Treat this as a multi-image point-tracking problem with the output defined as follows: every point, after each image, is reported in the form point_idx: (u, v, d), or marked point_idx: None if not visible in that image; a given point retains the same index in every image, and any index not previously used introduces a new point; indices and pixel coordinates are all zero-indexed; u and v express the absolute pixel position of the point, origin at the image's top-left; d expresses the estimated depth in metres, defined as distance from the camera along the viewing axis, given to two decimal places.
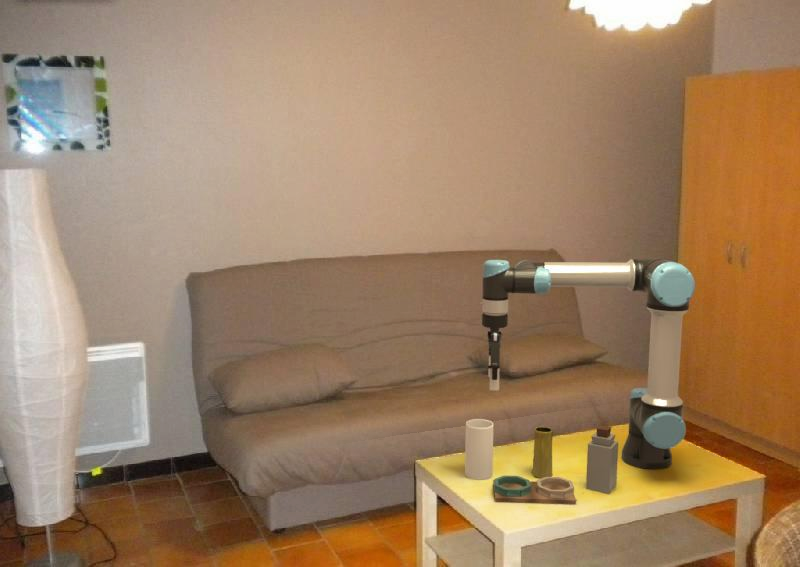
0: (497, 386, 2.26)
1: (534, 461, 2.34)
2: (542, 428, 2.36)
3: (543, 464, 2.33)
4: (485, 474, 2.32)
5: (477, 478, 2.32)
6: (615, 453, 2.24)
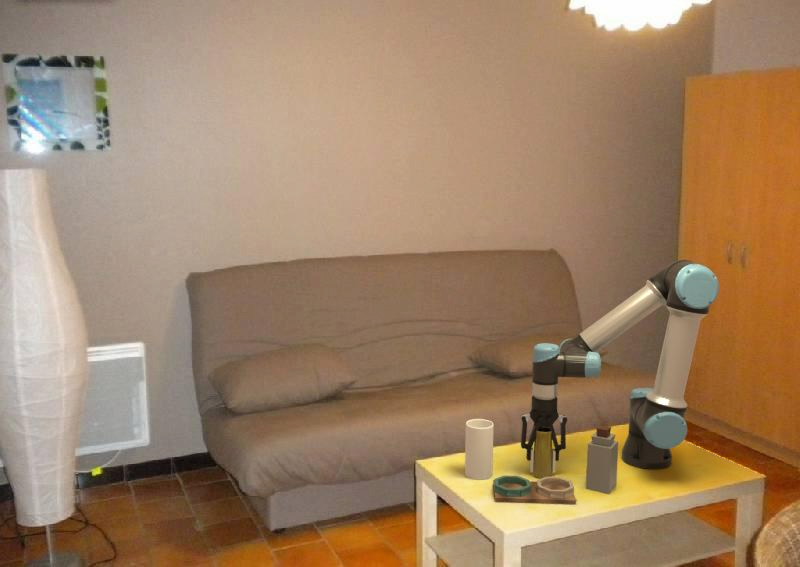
0: (530, 467, 2.35)
1: (534, 461, 2.34)
2: (542, 428, 2.36)
3: (543, 464, 2.33)
4: (485, 474, 2.32)
5: (477, 478, 2.32)
6: (615, 453, 2.24)
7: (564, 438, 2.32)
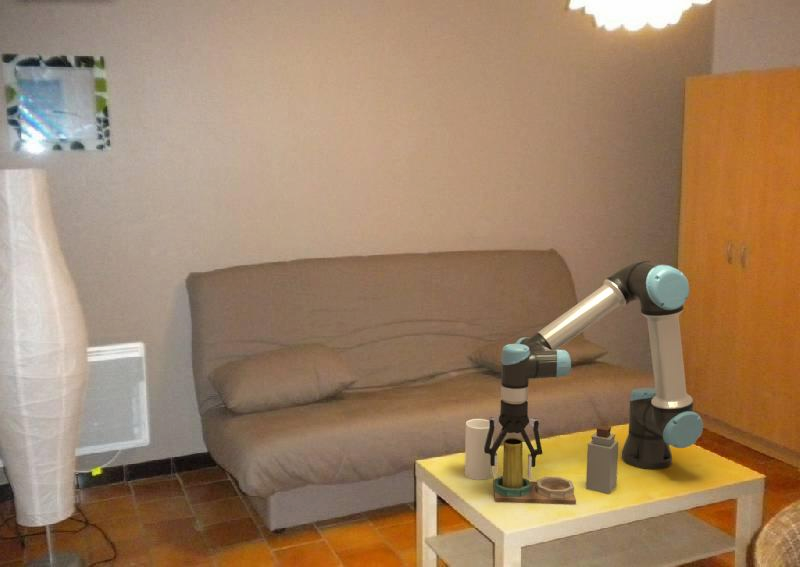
0: (494, 473, 2.21)
1: (504, 475, 2.21)
2: (512, 440, 2.22)
3: (513, 478, 2.19)
4: (485, 474, 2.32)
5: (477, 478, 2.32)
6: (615, 453, 2.24)
7: (539, 443, 2.19)
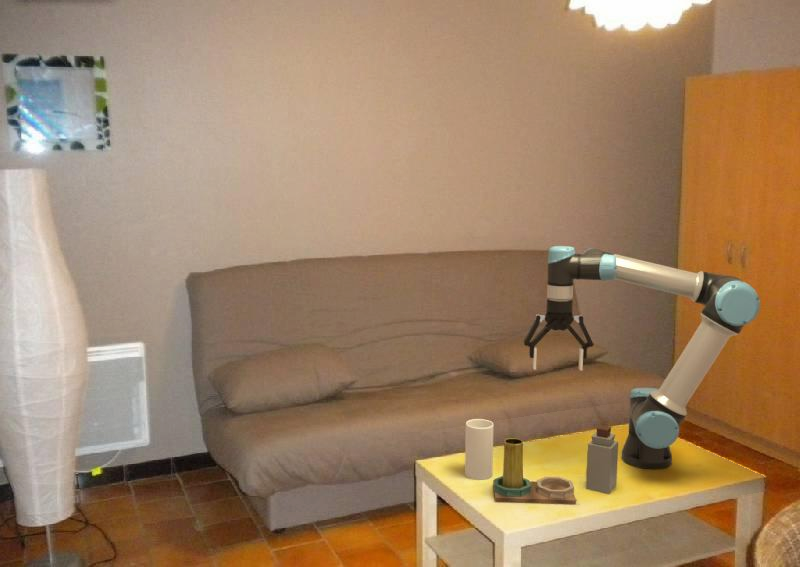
0: (533, 365, 2.34)
1: (504, 475, 2.21)
2: (512, 440, 2.23)
3: (513, 478, 2.19)
4: (485, 474, 2.32)
5: (477, 478, 2.32)
6: (615, 453, 2.24)
7: (588, 335, 2.31)
